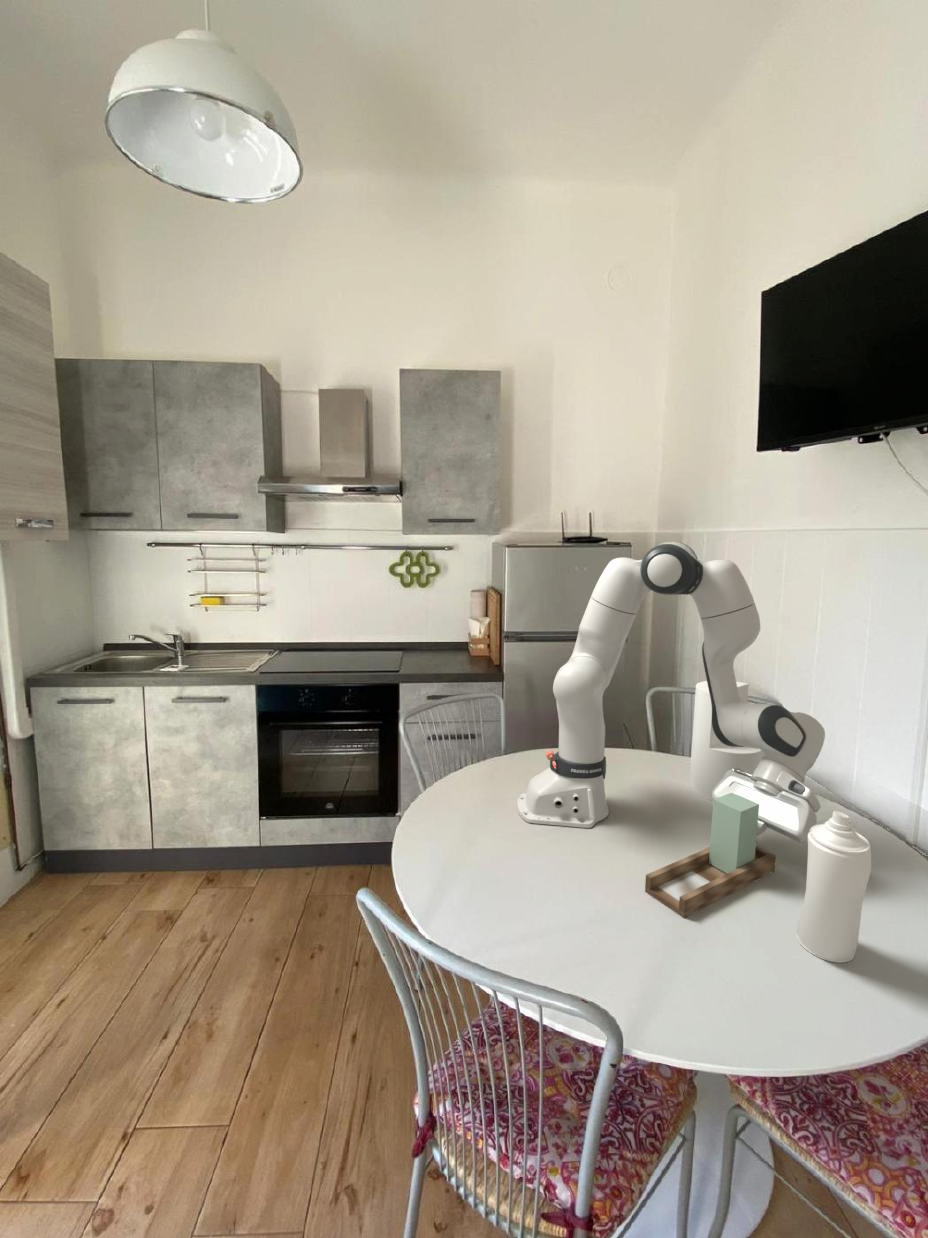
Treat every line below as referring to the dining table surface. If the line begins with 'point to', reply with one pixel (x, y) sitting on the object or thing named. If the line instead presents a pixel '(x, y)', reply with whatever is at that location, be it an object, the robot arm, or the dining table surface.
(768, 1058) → the dining table surface
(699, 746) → the cylinder
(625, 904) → the dining table surface
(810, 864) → the spray can
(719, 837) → the block
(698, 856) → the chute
